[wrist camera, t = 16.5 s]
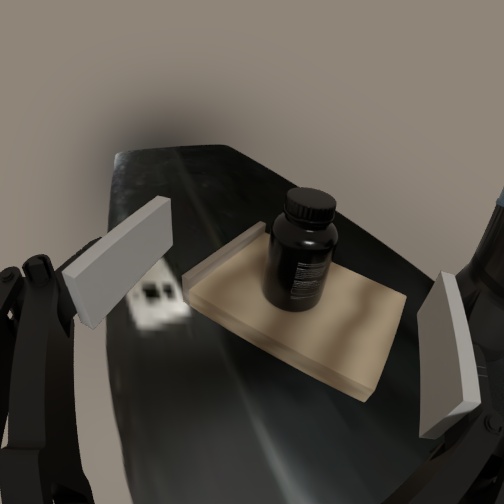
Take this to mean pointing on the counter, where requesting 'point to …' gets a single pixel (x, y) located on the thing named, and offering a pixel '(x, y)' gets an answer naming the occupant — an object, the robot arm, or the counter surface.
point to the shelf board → (300, 315)
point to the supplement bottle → (300, 250)
